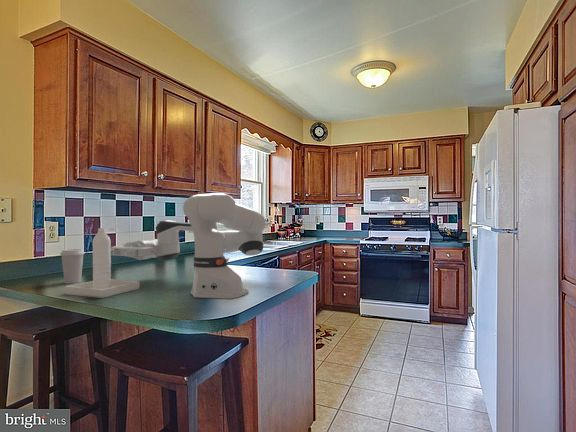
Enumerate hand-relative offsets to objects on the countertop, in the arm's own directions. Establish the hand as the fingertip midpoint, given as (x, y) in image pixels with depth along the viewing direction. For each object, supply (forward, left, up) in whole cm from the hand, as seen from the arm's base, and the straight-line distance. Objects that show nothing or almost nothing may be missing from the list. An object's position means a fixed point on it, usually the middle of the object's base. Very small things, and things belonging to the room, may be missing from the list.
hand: (117, 253), depth 148 cm
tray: (0, +7, -15) cm, 16 cm away
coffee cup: (+30, -2, -15) cm, 33 cm away
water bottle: (-1, +7, -14) cm, 16 cm away
